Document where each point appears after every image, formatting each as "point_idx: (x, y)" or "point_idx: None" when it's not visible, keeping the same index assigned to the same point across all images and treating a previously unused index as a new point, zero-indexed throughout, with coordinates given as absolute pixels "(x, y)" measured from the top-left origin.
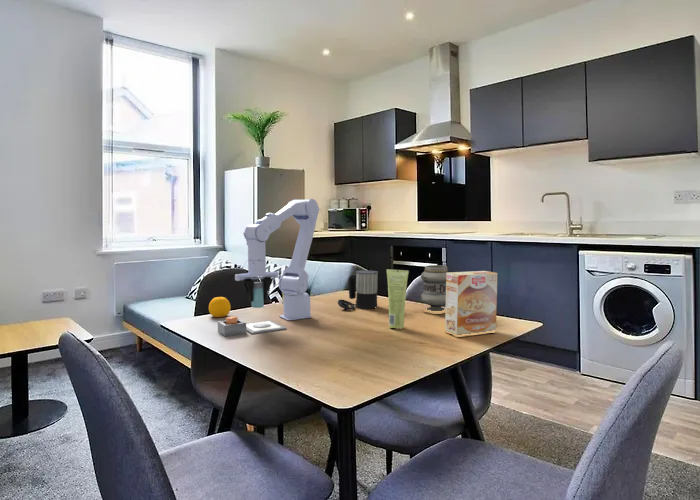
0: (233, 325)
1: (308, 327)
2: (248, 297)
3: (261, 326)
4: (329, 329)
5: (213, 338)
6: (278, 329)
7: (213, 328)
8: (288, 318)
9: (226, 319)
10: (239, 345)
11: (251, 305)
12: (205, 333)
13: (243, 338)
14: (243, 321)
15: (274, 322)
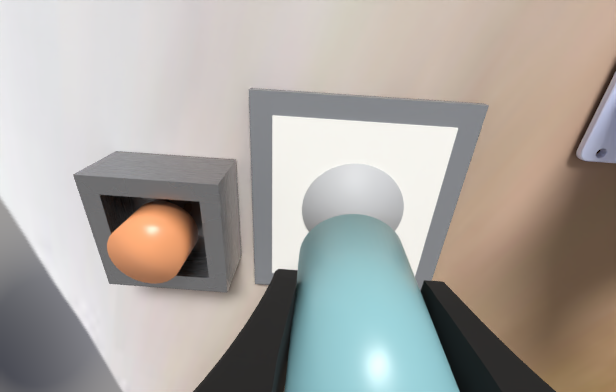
0: (159, 283)
1: (517, 313)
2: (265, 298)
3: None
4: (544, 370)
5: (91, 246)
6: None
7: (94, 49)
8: (603, 138)
9: (112, 253)
10: (174, 357)
11: (300, 251)
12: (49, 143)
13: (208, 305)
14: (223, 261)
15: (460, 175)
